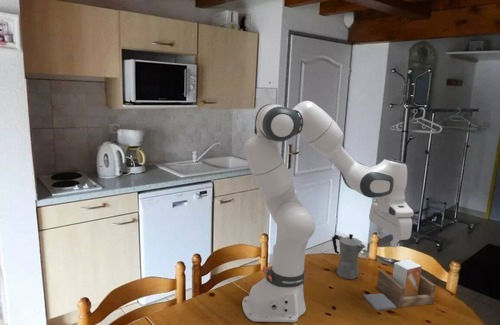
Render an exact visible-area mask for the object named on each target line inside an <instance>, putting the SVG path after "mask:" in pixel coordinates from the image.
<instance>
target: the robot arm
mask: <svg viewBox="0 0 500 325" xmlns="http://www.w3.org/2000/svg"><path fill="white" fill-rule="evenodd" d="M254 119H255V121H254V134H255V135H253V136H251V137H250V138H248V139H247V141H245V143H244V146H243V151H244V155H245V159H246V162H247V164H248V167H249V169H250V171H251V174H252V176H253V178H254V180H255V183H256V184H257V187H258V188H259V190H260V192H261V195H262V196H263V200H264V201H265V204H266V207H267V209H268V211H269V214H270V216H271V218H272V220H273V222H275V224H276V226H277V236H276V240H275V244H273V247H272V261H271V262H272V264H271V267H270V268H268V266H265V265H264V266H263V267H262V271H263V274H266V275H265V276H266V277H264V278H263V279H262V280H260V281H258V282H257V283H256V284H254V285H253V286H252V287H251V289H250V290H249V294H248V295H247V296H244V298H243V299H242V302H241V303H242V306H241V307H242V312H243V313H244V315H245V316H246V318H247V319H249V320H250V321H252V322H255V323H256V322H262V323H263V322H266V323H296V322H298V320H299V318H300V317H301V316H303V314H305V312H306V309H307V307H306V302H305V297H304V286H305V281H306V274H305V272H306V271H305V260H306V258H305V257H306V250H307V246H308V244H309V243H308V242H309V239H310V238H312V236H313V235H314V233H315V230H316V223H315V221H314V217H313V216H312V213H311V212H310V211H309V209H307V208H306V207H305V206H304V205H303V204H302V202H301V201H300V199H299V197H298V196H297V193H296V190H295V187H294V181H293V179H292V177H291V176H292V175H291V174H290V173H289V172H290V171H289V170H288V167H287V165H286V163H285V161H284V158H283V156H282V155H281V153H280V149H279V143H281V142H285V141H287V140H289V139H291V138H293V137H295V136H297V135H299V136H300V137H302V139H303V140H304V141H305V142H306V143H307V144H308V145H309V146H310V147H311V148H313V149H314V150H315V151H316V152H317V153H319V154H320V155H322V156H324V157H326V158H327V159H328V160H329V161H330V162H331V163H332V164H333V165H334V166H335V167H336V168H337V170H338V171H339V172H340V175H341V177H342V179H343V182H344V184H345V185H346V186H347V187H348V188H349V189H350V190H353V191H355V192H357V193H359V194H360V195H362V196H364V197H367V198H371V199H372V198H373V201H372V204H371V206H370V210H369V215H368V219H369V221H370V222H371V223H373V224H374V225H375V230H376V232H377V233H376V237H378V238H379V239H383V238H384V232H383V230H384V231H386V232H387V233H388V234H390V235H391V236H392V240H390V241H389V242H390V243H389V245H390V247H392V248H397V247H398V243H399V242H400V241H402V240H403V241H405V240H409V239H410V238H411V236H412V231H413V229H412V228H413V220H412V219H413V218H412V217H414V210H413V209H412V208H411V207H410V206H409V205H408V203H407V202H406V201H405V200H406V196H405V193H406V192H405V191H406V188H407V183H408V167H407V164H406V163H405V162H403V161H400V160H397V159H394V158H383V160H382V161H381V162H379V163H378V164H376V165H374V166H371V167H369V166H367V165H365V164H364V163H361V162H359V161H356V160H354V159H353V158H352V157H351V155H350V154H349V153H348V152H347V151H346V150H345V148H344V147H343V146H342V144H343V143H344V132H343V131H342V129H341V128H340V126H339V125H338V124H337V122H336V121H335V120H334V119H333V118H332V117H331V116H330V114H328V113H327V112H326V111H325V110H324V109H323V108H321V107H320V106H318V104H316V103H315V102H313V101H310V100H304V101H301V102H299V103H298V104H296V105H295V106H294V107H293V108H291V107H286V106H284V105H281V104H277V103H267V104H265V105H263V106H261V107H260V108H259V110H258V111H257V113H256V115H255V118H254Z"/></svg>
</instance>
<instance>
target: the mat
mask: <svg viewBox="0 0 500 325" xmlns="http://www.w3.org/2000/svg"><path fill="white" fill-rule="evenodd" d="M362 297H363V298H364V300H365V301H366V302H367V303H369V304H370V306H371V307H373V309H374V310H375V311H385V310H396V309H397V308H398V306H396V305H395V304H394V303H393V302H392V301H391V300H390V299H389V298H388V297H387V296H386V295H385V294H384V293H382V292H381V293H371V294H363V296H362Z"/></svg>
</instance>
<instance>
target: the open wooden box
mask: <svg viewBox="0 0 500 325" xmlns="http://www.w3.org/2000/svg"><path fill="white" fill-rule="evenodd" d="M376 287H377V289H378V290H380V292H381V293H383V294H384V295H385V296H386V297H387V298H388V299H389V300H390V301H391V302H392V303H393V304H394V305H396V306H397V308H404V307H415V306H423V305H433V304H434V302H435V301H434V300H435V294H436V288H437V286H436V284H435V283H433V282H432V281H430V280H429V279H428V278H426V277H425V276H424V275H422V274H421V275H420V282H419V289H418V296H407V297H404V290H405V288H404V287H403V286H402V285H400V284H399V283H398V282H397V281H396V280H394V279H393V278H392V276H391V275H390V274H388V273H387V271H384V270H383V269H379V270H378V276H377V285H376Z"/></svg>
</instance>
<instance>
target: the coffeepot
mask: <svg viewBox="0 0 500 325" xmlns="http://www.w3.org/2000/svg"><path fill="white" fill-rule="evenodd" d="M353 236H354V235H353V234H350V233H349V234H348V236H346V237H344V236H341V235H338V234H335V235H333V236H332V237H331V241H332V245H333V250H334V253H335V254H337V255H339V254H340V260H339V263H338V266H337V269H336V274H337V275H338V276H339V277H340V278H343V279H345V280H346V279H347V280H355V279H357V278H358V277H359V265H358V258H359V254H360V253H361V252H362V250H363V249H366V246H365V245H364V244H363V243H362V241H361V240H360V239H358V238H356V237H353ZM337 240H338V241H339V251H338V246H337V245H338V244H337Z"/></svg>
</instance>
